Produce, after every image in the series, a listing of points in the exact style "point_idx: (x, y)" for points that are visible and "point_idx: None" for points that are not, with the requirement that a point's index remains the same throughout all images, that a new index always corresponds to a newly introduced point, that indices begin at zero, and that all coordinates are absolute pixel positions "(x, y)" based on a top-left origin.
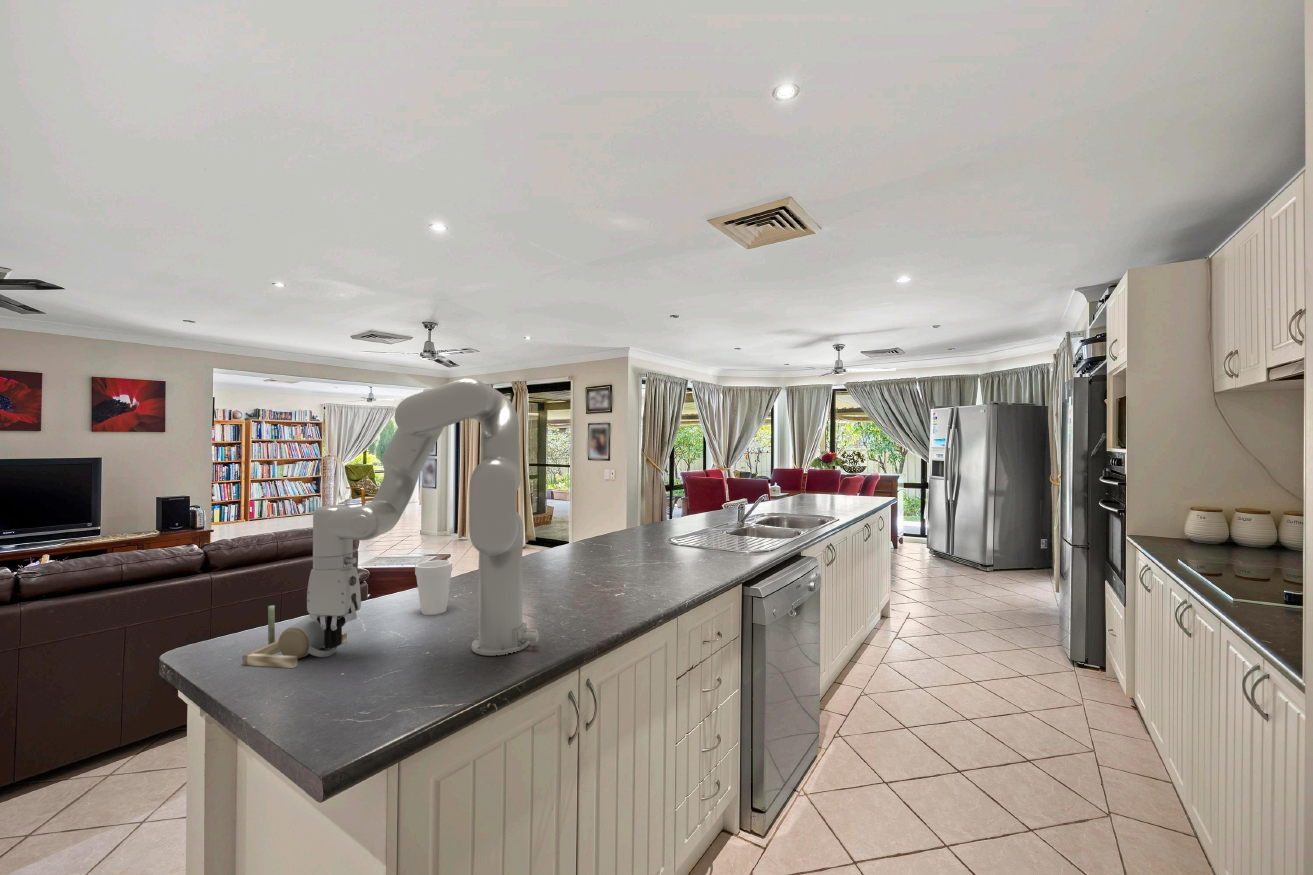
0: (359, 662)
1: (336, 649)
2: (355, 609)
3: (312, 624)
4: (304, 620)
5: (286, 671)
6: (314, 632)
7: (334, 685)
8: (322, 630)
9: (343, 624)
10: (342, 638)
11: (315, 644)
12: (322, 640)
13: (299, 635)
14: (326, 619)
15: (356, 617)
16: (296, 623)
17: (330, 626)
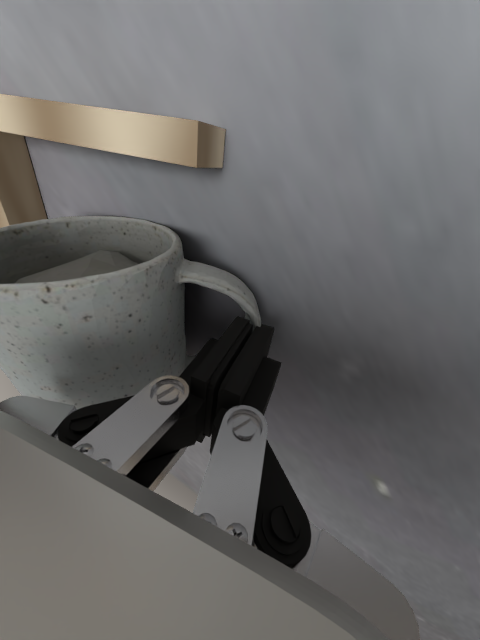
0: (420, 431)
1: (257, 306)
2: (355, 637)
3: (82, 391)
4: (13, 377)
5: None
6: (140, 390)
7: (386, 536)
8: (142, 346)
9: (273, 462)
10: (206, 167)
11: (181, 357)
12: (179, 325)
13: None
14: (149, 489)
15: (414, 622)
16: (22, 395)
17: (196, 436)
